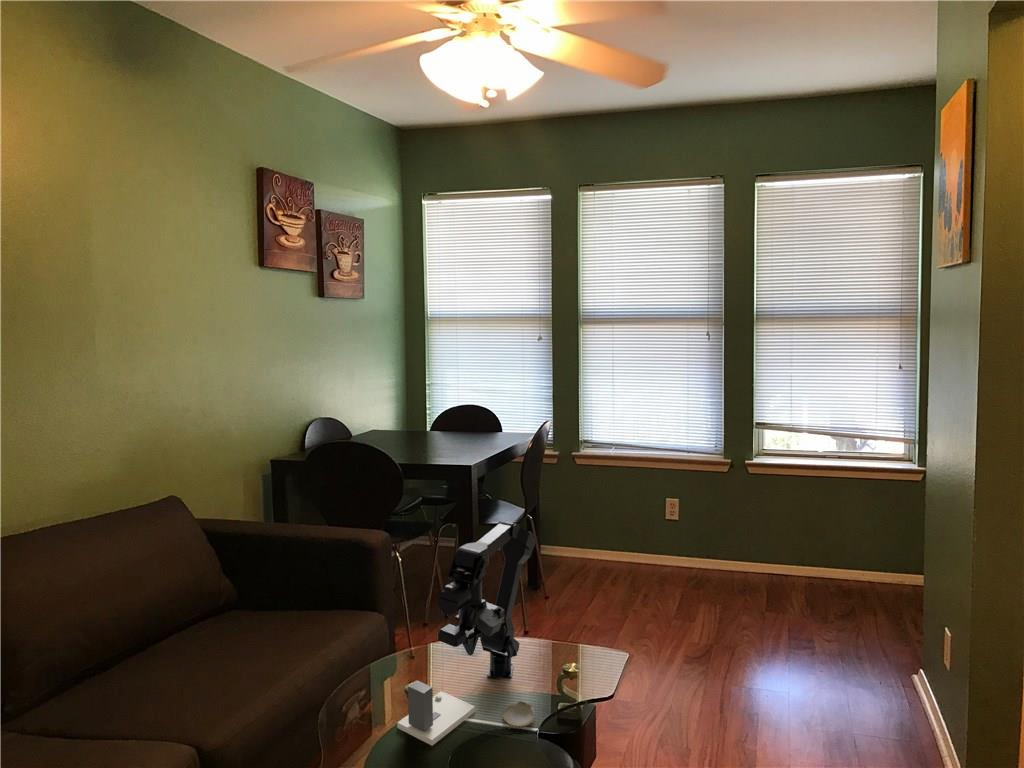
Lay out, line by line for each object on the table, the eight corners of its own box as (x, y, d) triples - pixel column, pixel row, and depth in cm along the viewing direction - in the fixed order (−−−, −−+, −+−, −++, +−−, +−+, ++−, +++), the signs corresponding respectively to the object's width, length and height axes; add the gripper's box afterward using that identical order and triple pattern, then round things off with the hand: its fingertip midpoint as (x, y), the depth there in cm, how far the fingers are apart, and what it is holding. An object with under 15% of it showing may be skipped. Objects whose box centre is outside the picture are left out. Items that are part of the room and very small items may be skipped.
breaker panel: (441, 696, 207) (441, 689, 207) (475, 711, 201) (475, 704, 200) (397, 728, 194) (397, 720, 194) (432, 745, 188) (432, 738, 188)
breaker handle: (417, 717, 195) (416, 680, 193) (432, 725, 192) (432, 687, 190) (408, 723, 193) (407, 686, 191) (424, 731, 190) (423, 693, 188)
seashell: (499, 728, 198) (525, 734, 193) (495, 718, 197) (521, 723, 192) (518, 707, 204) (543, 712, 199) (515, 697, 203) (540, 701, 198)
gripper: (472, 622, 187) (472, 682, 190) (519, 592, 202) (518, 649, 205) (435, 608, 193) (436, 667, 197) (483, 579, 208) (483, 635, 212)
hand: (470, 654), depth 202 cm, fingers closed
